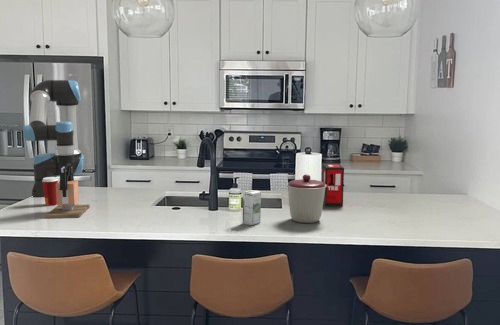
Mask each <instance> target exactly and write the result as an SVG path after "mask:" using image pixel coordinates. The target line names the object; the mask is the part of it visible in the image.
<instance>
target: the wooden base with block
mask: <svg viewBox="0 0 500 325" xmlns="http://www.w3.org/2000/svg"><path fill="white" fill-rule="evenodd" d="M89 209H90V203H89V204H88V203H87V204H75V205H56V207H54V208H53V209H52V210H50V211H49V212H48V213H46V214H45V215H44V216H45V219H64V218H65V219H66V218H67V219H69V218H73V219H74V218H81V216H83V214H84V213H86V212H87V210H89Z"/></svg>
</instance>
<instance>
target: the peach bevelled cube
mask: <svg viewBox="0 0 500 325" xmlns="http://www.w3.org/2000/svg"><path fill="white" fill-rule="evenodd" d="M59 189H60V181H59V182H58V183H57V184H56V197H57V205H56V206H58V205H77V203H79V201H80V196H79V180H74V181H68V184H67V190H68V200H69V203H68V204H62V190H59Z"/></svg>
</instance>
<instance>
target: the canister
mask: <svg viewBox="0 0 500 325" xmlns="http://www.w3.org/2000/svg"><path fill="white" fill-rule="evenodd" d="M285 186H286V187H287V196H288V197H287V198H288V206H289V214H290V217H291V219H292V221H294V222H297V223H300V224H301V223H303V224H314V223H316V222H318V221H320V219H321V217H322V214H323V208H324V203H323V201H324V194H325V188H326V187H327V185H326V184H324V183H323V182H322V180H316V179H311V176H310V174H303V176H302V178H301V179H293V180H291V181H289V182H287V183H286V185H285Z"/></svg>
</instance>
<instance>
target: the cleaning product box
mask: <svg viewBox="0 0 500 325" xmlns="http://www.w3.org/2000/svg"><path fill="white" fill-rule="evenodd" d="M344 177H345V167H343V166H342V165H341V164H340V163H333V162H331V163H330V162H329V163H327V162H325V163H323V162H322V163H321V182H323V183H324V184H326V185H327V187H326V188H325V194H324V201H323V206H325V207H343V206H344V182H345V180H344V179H345V178H344Z"/></svg>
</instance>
